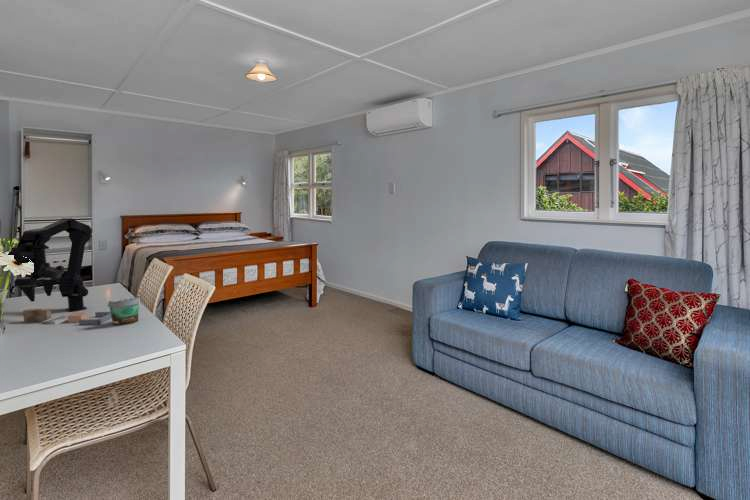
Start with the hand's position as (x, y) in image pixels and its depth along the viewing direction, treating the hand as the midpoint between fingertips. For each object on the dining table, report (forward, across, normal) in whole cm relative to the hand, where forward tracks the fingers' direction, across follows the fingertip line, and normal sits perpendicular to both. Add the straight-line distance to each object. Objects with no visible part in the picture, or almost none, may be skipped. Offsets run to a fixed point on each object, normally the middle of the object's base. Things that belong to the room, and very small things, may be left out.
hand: (41, 298), depth 171 cm
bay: (+10, 0, -21) cm, 23 cm away
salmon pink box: (+10, 0, -14) cm, 17 cm away
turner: (+10, 0, 0) cm, 10 cm away
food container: (+10, -5, -36) cm, 38 cm away
